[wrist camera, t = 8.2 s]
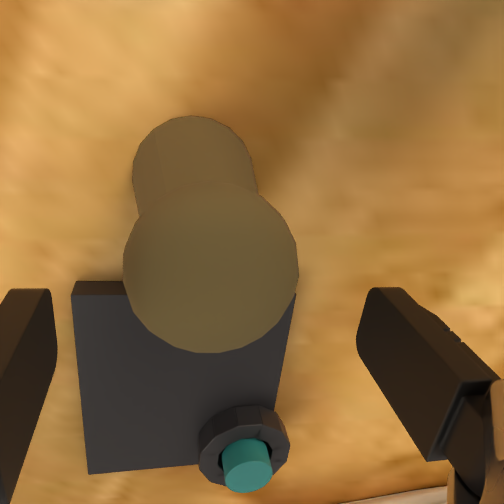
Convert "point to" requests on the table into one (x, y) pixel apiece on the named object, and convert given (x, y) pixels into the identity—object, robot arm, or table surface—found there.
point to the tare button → (246, 465)
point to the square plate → (410, 497)
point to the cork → (205, 241)
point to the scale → (170, 390)
